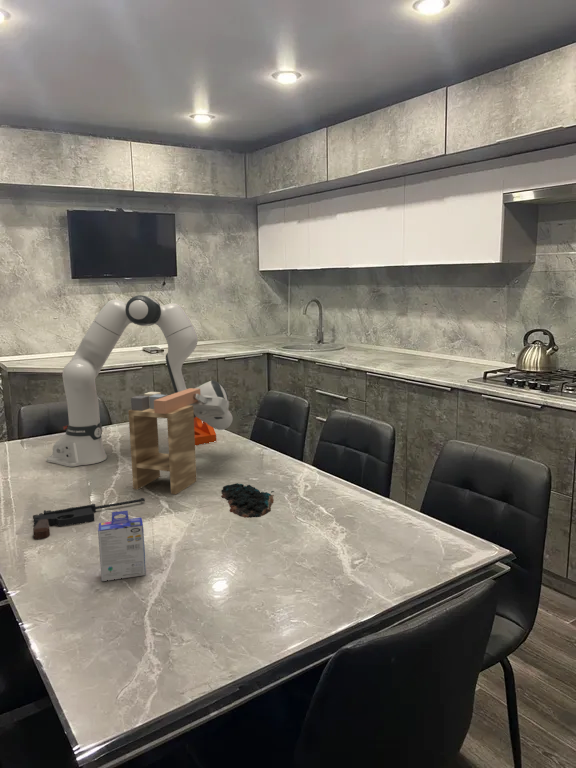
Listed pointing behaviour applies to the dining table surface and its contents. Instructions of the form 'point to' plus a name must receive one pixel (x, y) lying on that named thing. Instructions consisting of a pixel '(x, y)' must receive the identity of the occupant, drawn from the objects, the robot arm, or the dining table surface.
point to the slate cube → (154, 397)
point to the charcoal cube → (140, 403)
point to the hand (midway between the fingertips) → (188, 395)
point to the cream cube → (151, 394)
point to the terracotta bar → (175, 401)
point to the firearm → (68, 517)
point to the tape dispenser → (203, 432)
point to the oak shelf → (147, 448)
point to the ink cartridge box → (121, 547)
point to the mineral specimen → (247, 500)
